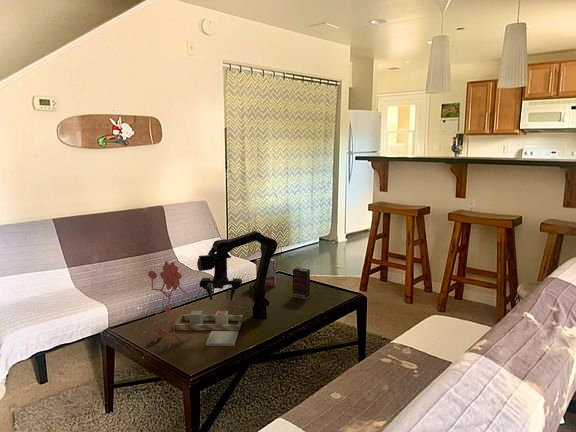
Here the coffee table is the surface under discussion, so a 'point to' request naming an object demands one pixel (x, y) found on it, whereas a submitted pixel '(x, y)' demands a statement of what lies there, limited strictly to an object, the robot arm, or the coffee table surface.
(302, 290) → the supplement box
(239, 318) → the bin
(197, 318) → the grey block
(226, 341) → the sage board
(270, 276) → the candy bar box
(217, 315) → the labelled block
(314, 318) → the coffee table surface
